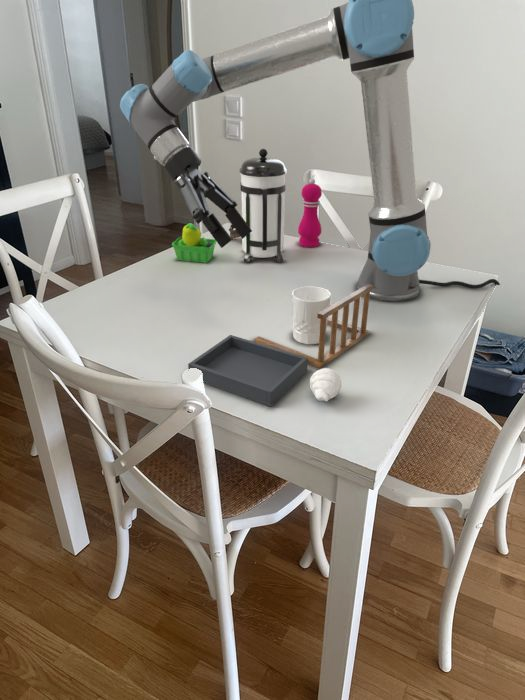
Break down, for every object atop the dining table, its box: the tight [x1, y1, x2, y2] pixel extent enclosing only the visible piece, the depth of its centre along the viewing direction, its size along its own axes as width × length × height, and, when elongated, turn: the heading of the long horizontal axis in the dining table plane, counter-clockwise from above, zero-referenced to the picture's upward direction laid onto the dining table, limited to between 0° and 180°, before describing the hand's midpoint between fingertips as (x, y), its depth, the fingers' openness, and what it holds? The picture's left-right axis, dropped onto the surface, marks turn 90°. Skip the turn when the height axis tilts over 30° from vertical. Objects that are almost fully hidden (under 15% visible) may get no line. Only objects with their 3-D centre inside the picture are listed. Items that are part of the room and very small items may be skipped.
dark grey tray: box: [187, 334, 309, 407], centre depth 100 cm, size 18×14×3 cm
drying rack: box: [253, 284, 373, 369], centre depth 110 cm, size 18×16×11 cm
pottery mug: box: [228, 223, 241, 241], centre depth 171 cm, size 12×10×8 cm
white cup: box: [291, 285, 332, 345], centre depth 111 cm, size 8×8×10 cm
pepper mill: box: [297, 177, 323, 248], centre depth 163 cm, size 7×7×20 cm
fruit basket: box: [171, 222, 217, 264], centre depth 153 cm, size 11×9×11 cm
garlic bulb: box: [309, 367, 342, 402], centre depth 91 cm, size 6×6×5 cm
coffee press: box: [239, 148, 288, 264], centre depth 149 cm, size 17×16×30 cm
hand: (237, 239), depth 115 cm, fingers open, 13 cm apart
